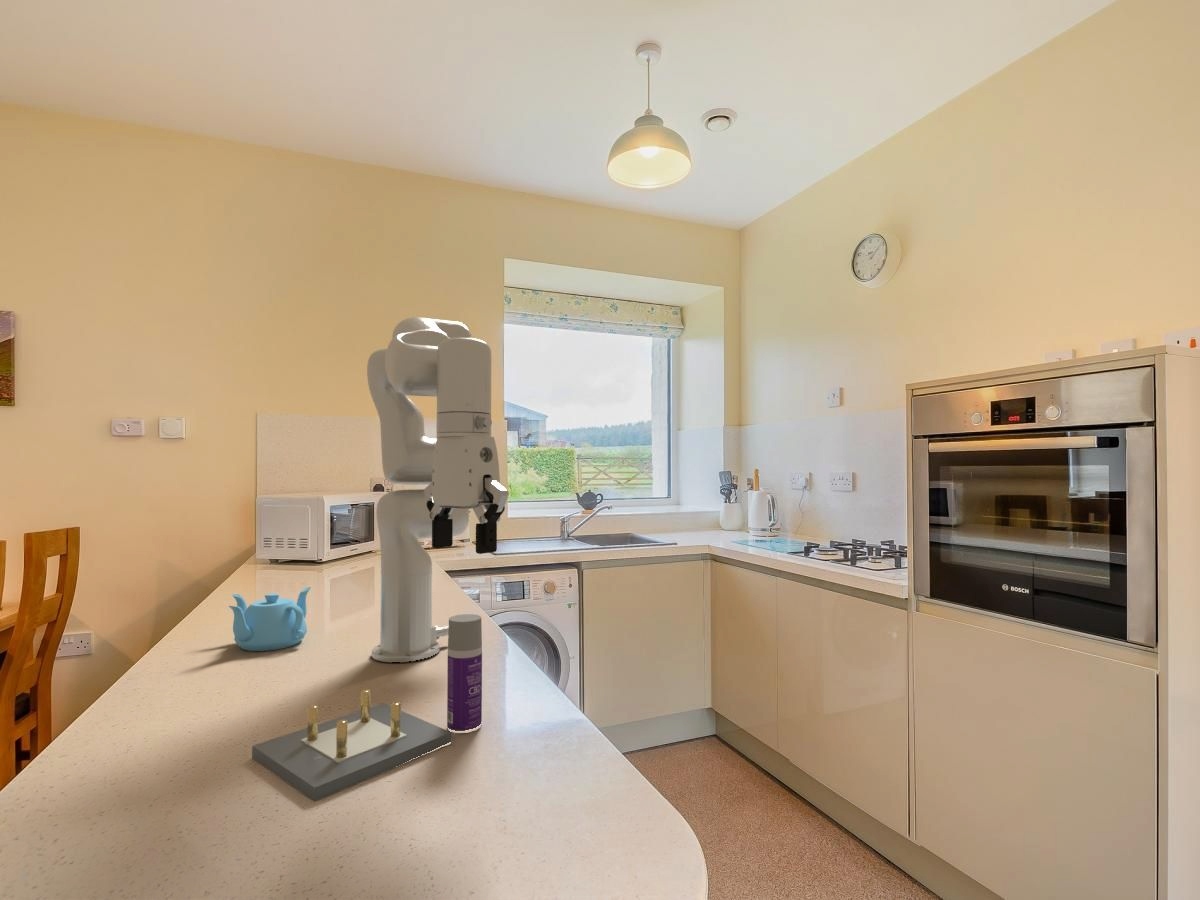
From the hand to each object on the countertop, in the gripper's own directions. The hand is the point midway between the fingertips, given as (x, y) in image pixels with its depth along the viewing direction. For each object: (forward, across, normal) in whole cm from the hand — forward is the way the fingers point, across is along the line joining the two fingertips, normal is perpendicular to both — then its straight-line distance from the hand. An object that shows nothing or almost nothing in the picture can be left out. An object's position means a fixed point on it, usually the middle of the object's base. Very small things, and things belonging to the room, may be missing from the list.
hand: (463, 549), depth 86 cm
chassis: (+24, +5, +13) cm, 28 cm away
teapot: (+24, +64, 0) cm, 68 cm away
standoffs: (+23, +5, +13) cm, 27 cm away
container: (+25, 0, 0) cm, 25 cm away
